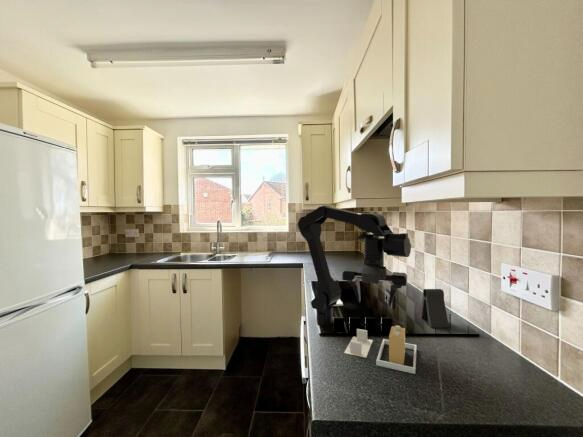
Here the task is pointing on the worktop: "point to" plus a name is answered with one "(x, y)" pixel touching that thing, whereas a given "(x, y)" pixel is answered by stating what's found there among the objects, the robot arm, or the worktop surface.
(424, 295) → the phone stand
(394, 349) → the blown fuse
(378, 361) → the parts tray
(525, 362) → the worktop surface
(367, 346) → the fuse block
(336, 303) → the external hard drive
